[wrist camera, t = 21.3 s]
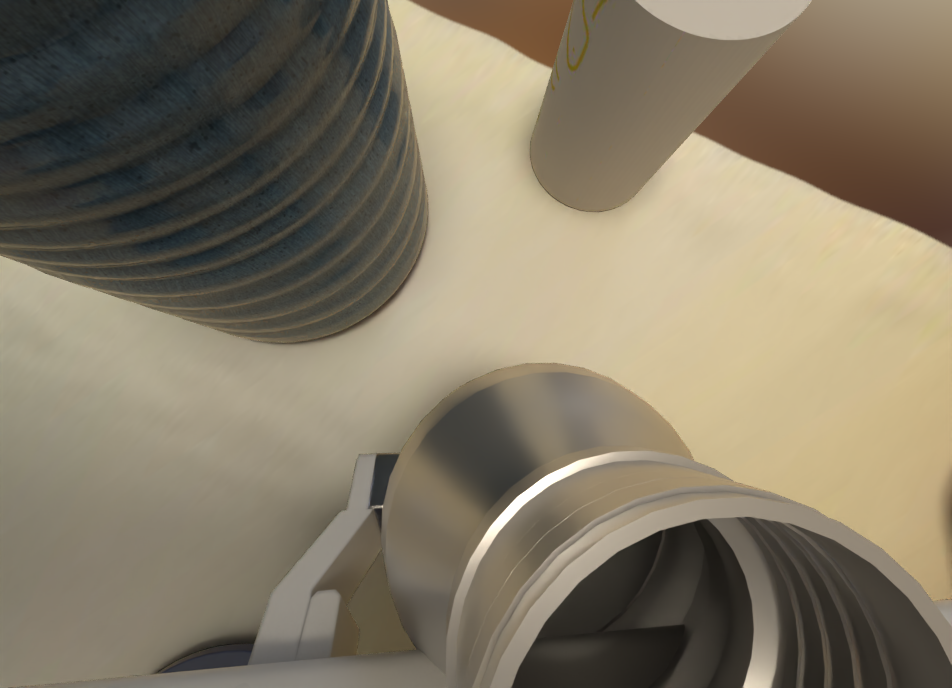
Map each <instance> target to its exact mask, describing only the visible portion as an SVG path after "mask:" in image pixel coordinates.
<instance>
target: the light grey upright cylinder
mask: <svg viewBox="0 0 952 688" xmlns="http://www.w3.org/2000/svg"><path fill="white" fill-rule="evenodd" d="M810 2H811V0H574V1H573V4H572V8H571V11H570V14H569V18H568V21H567V24H566V27H565V31H564V34H563V37H562V40H561V43H560V47H559V50H558V53H557V57H556V60H555V63H554V66H553V70H552V73H551V76H550V79H549V83H548V86H547V89H546V92H545V96H544V99H543V102H542V106H541V109H540V112H539V115H538V119H537V122H536V125H535V128H534V132H533V135H532V139H531V144H530V158H531V163H532V167H533V170H534V172H535V175H536V177H537V178H538V180H539V182H540V183H541V185H542V186H543V187H544V188H545V190H546V191H547V192H548V193H549V194H550V195H552V196H553V197H554V198H555V199H557V200H558V201H560V202H561V203H563V204H565V205H567V206H570V207H572V208H575V209H579V210H583V211H594V212H596V211H606V210H610V209H613V208H616V207H619V206H621V205H623V204H624V203H626V202H627V201H629V200H630V199H631V198H632V197H634V196H635V195H636V193H637V192H638V191H639V190H640V189H641V188H642V187H643V186H644V185H645V184H646V183H647V181H648V180H649V179H650V178H651V177H652V176H653V175H654V174H655V173H656V172H657V171H658V169H659V168H660V167H661V166H662V165H663V164H664V163H665V162H666V161H667V160H668V159H669V157H670V156H671V155H672V154H673V153H674V152H675V151H676V150H677V149H678V148H679V146H680V145H681V144H682V143H683V142H684V141H685V140H686V139H687V138H688V137H689V136H690V134H691V133H692V132H693V131H694V130H695V129H696V128H697V127H698V126H699V125H700V123H701V122H702V121H703V120H704V119H705V118H706V117H707V116H708V115H709V114H710V113H711V111H712V110H713V109H714V108H715V107H716V106H717V105H718V104H719V103H720V102H721V101H722V100H723V98H724V97H725V96H726V95H727V94H728V93H729V92H730V91H731V90H732V88H733V87H734V86H735V85H736V84H737V83H738V82H739V81H740V80H741V79H742V78H743V76H744V75H745V74H746V73H747V72H748V71H749V70H750V69H751V68H752V67H753V66H754V64H755V63H756V62H757V61H758V60H759V59H760V58H761V57H762V56H763V55H764V54H765V53H766V51H767V50H768V49H769V48H770V47H771V46H772V45H773V44H774V43H775V41H777V39H778V38H779V37H780V36H781V35H782V34H783V33H784V32H785V31H786V30H787V28H788V27H789V26H790V25H791V24H792V23H793V22H794V21H795V20H796V19H797V18H798V16H799V15H800V14H801V13H802V12H803V11H804V10H805V8H806V7H807V6H808V5H809V3H810Z"/></svg>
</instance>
